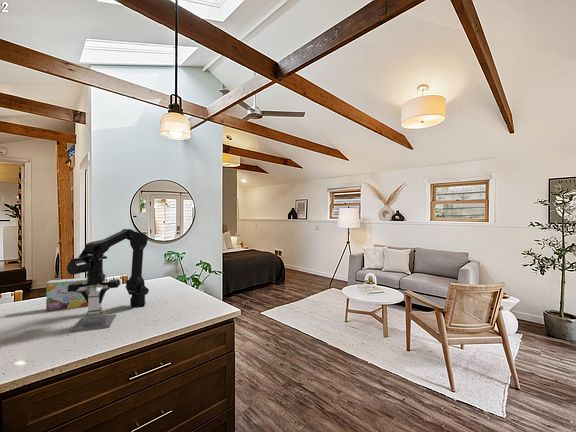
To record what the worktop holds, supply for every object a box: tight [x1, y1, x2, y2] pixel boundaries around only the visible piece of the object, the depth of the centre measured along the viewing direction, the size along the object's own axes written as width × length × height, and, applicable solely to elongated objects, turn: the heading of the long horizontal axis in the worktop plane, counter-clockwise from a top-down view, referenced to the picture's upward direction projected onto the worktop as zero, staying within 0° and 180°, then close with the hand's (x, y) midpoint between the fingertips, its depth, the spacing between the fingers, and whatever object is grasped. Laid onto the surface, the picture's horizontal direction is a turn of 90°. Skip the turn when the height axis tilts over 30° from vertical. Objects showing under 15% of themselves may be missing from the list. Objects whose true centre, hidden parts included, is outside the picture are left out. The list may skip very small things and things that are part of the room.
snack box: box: [45, 277, 99, 312], centre depth 141 cm, size 21×6×15 cm, turn 117°
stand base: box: [69, 308, 117, 333], centre depth 120 cm, size 14×14×6 cm
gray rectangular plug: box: [87, 290, 103, 315], centre depth 120 cm, size 4×4×10 cm
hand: (95, 303), depth 120 cm, fingers closed on gray rectangular plug, 4 cm apart
